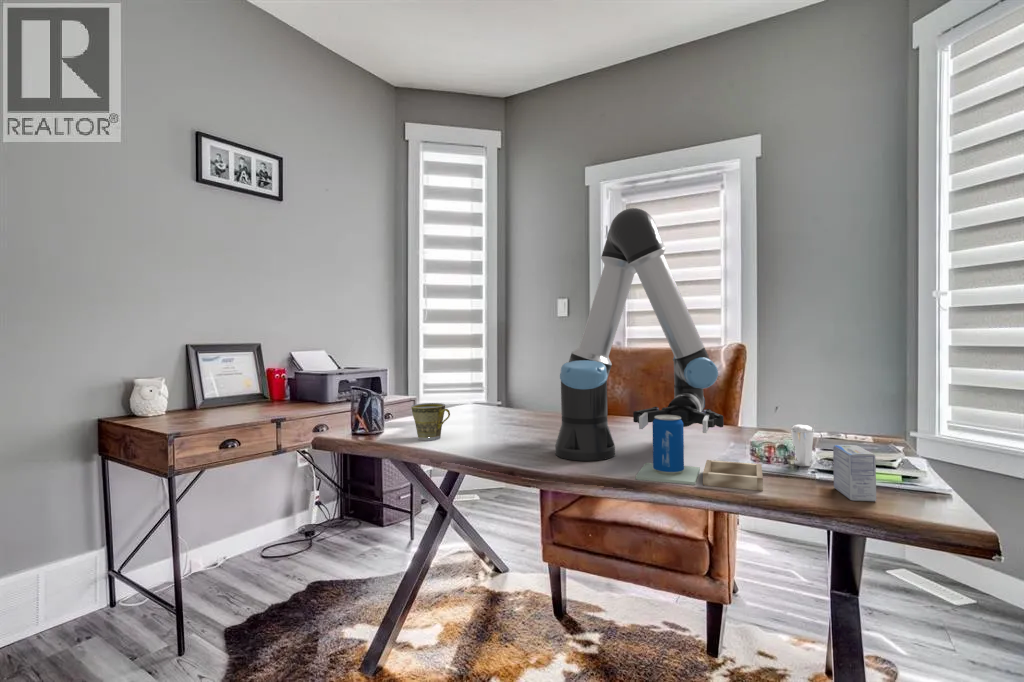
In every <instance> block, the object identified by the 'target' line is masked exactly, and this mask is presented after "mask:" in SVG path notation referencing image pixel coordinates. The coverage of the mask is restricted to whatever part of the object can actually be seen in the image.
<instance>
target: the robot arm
mask: <svg viewBox="0 0 1024 682" xmlns="http://www.w3.org/2000/svg"><path fill="white" fill-rule="evenodd" d="M665 251H666V247H665V245H664V242H663V240H662V237H661V235H660V233H659V230H658V227H657V225H656V222H655V220H654V219H653V217H652V216H651V214H649V213H648V212H647V211H646V210H643V209H642V208H641V209H640V208H636V207H635V208H634V207H632V208H625V209H624V210H623V209H622V210H621V211H620V212H619V213H617V215H615V217H614V218H613V219H612V222H611V223H610V227H609V229H608V232H607V236H606V239H605V244H604V247H603V249H602V253H601V256H600V259H601V261H602V263H603V265H604V266H603V269H602V271H601V275H600V278H599V282H598V285H597V288H596V291H595V294H594V298H593V301H592V304H591V308H590V311H589V313H588V317H587V320H586V324H585V327H584V330H583V334H582V336H581V340H580V343H579V346H578V348H576V349H574V350H573V351H571V354H570V356H569V360H568V362H566V363H563V364H562V366H561V367H560V373H559V379H560V392H561V393H560V400H561V403H560V405H561V407H560V408H561V410H560V411H561V425H560V429H559V432H558V435H557V438H556V441H555V446H554V447H555V449H554V451H555V453H554V454H555V455H556V456H557V457H559V458H562V459H565V460H569V461H570V460H571V461H580V462H581V461H582V462H583V461H584V462H591V461H594V462H595V461H603V460H607V459H610V458H611V459H612V458H613V457H615V456H616V445H615V442H614V439H613V436H612V433H611V430H610V427H609V424H608V421H609V420H608V378H609V376H610V371H611V369H612V365H613V364H612V361H611V359H610V357H609V356H610V353H611V350H612V346H613V343H614V342H615V341H614V340H615V337H616V334H617V331H618V328H619V324H620V322H621V319H622V314H623V312H624V309H625V305H626V302H627V299H628V296H629V293H630V289H631V286H632V283H633V280H634V277H635V274H637V276H638V278H639V281H640V283H641V285H642V287H643V289H644V291H645V294H646V297H647V298H648V300H649V302H650V305H651V307H652V309H653V312H654V314H655V316H656V319H657V321H658V323H659V325H660V327H661V329H662V332H663V333H664V336H665V338H666V340H667V343H668V344H669V347H670V349H671V352H672V354H673V358H672V362H673V376H674V377H673V378H674V381H673V382H674V386H673V389H674V390H673V391H674V395H673V396H674V398H673V399H672V400H671V401H670V402H669V403H668V406H666V407H662V408H661V409H660V408H659V407H658V406H653V407H650V408H645V409H639V410H634V411H632V414H633V415H632V416H633V418H632V420H633V421H632V422H633V423H637V424H638V429H639V430H644V428H645V427H646V426H647V425H649V423H653V420H654V419H655V418H654V417H655V416H657V415H676V416H680V417H681V420H682V422H683V428H687V427H689V426H692V425H694V424H698V425H699V424H700V425H702V434H707V433H708V431H709V429H710V428H711V429H712V428H715V427H718V428H723V427H724V415H722V414H720V413H717V412H715V411H712V410H711V409H709V408H707V409H705V407H706V400H705V397H704V389H708V388H710V387H712V386H713V385H714V384H715V383H716V382H717V379H718V377H719V372H718V371H719V370H718V367H717V365H716V364H715V362H714V361H713V360H712V359H710V356H709V354H708V352H707V350H706V348H705V345H704V344H703V343H704V342H703V341H702V339H701V337H700V334H699V332H698V329H697V327H696V325H695V323H694V320H693V318H692V315H691V314H690V311H689V310H688V307H687V304H686V302H685V300H684V298H683V295H682V294H681V291H680V289H679V287H678V285H677V283H676V280H675V278H674V276H673V273H672V271H671V269H670V266H669V264H668V261H667V259H666V257H665V255H664V254H665Z"/></svg>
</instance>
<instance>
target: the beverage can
mask: <svg viewBox="0 0 1024 682" xmlns="http://www.w3.org/2000/svg"><path fill="white" fill-rule="evenodd" d="M654 418H655V419H654V420H653V422H651V423H652V463H653V468H654V469H655V470H656V471H657V472H658V473H660V474H665V475H676V474H679V473H680V472H681V471H683V470H684V466H685V451H684V450H685V446H684V444H685V443H684V442H685V441H684V439H685V438H684V436H685V435H684V434H685V433H684V432H685V431H684V427H683V422H682V420H681V417H680V416H676V415H657V416H655V417H654Z"/></svg>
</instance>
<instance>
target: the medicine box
mask: <svg viewBox="0 0 1024 682" xmlns="http://www.w3.org/2000/svg"><path fill="white" fill-rule="evenodd" d="M832 457H833V458H832V459H833V488H834V489H836V490H837V491H838V492H840V494H842V495H843V496H845V497H846V498H847V499H849V500H850V501H854V502H873V503H874V502H876V501H877V470H876V469H877V467H876V461H877V460H876V459H877V458H876V455H875V453H872V452H871V451H869V450H866V448H863V447H861V446H859V445H856V444H855V445H854V444H837V445H833V455H832Z"/></svg>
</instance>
